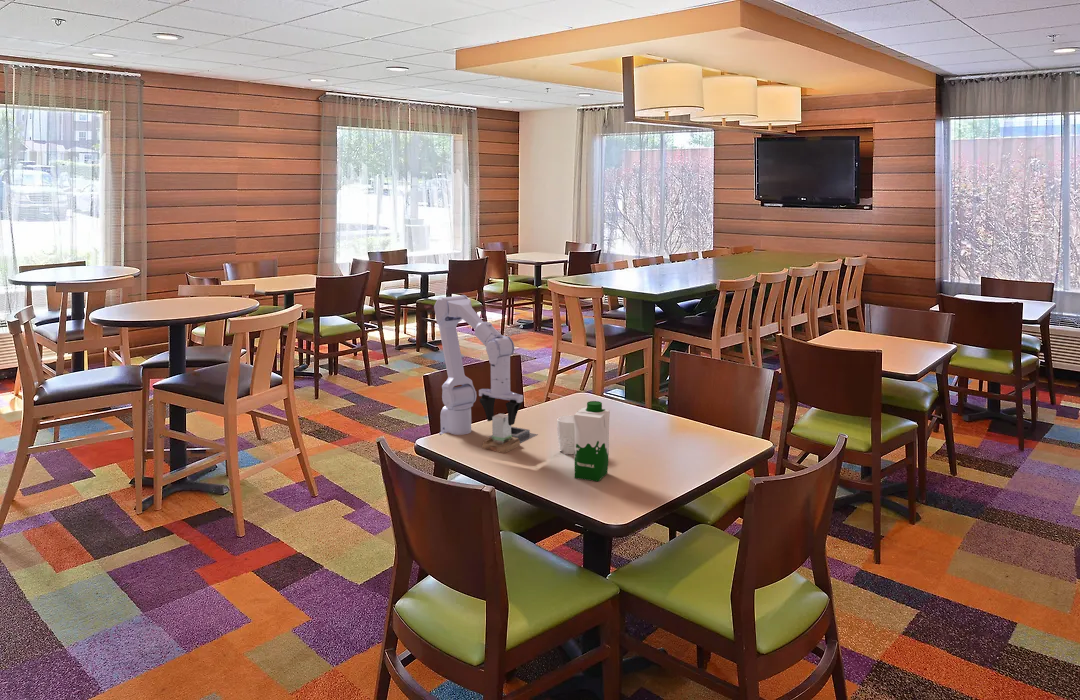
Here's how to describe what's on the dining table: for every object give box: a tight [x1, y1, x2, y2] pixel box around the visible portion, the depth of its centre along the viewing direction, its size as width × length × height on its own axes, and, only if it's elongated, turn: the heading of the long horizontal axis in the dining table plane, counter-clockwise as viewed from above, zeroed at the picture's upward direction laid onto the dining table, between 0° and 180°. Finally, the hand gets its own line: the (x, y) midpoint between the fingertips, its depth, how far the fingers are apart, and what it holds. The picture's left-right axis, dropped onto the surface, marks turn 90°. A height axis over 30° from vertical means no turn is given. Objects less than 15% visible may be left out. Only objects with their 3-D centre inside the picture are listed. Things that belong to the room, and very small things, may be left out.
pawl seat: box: [482, 437, 521, 454], centre depth 235 cm, size 8×8×3 cm
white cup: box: [556, 414, 575, 455], centre depth 233 cm, size 8×8×10 cm
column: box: [491, 413, 512, 444], centre depth 234 cm, size 4×4×8 cm
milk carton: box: [573, 400, 611, 482], centre depth 212 cm, size 9×9×20 cm
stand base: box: [488, 426, 538, 444], centre depth 246 cm, size 12×10×2 cm
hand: (500, 422), depth 234 cm, fingers open, 7 cm apart
